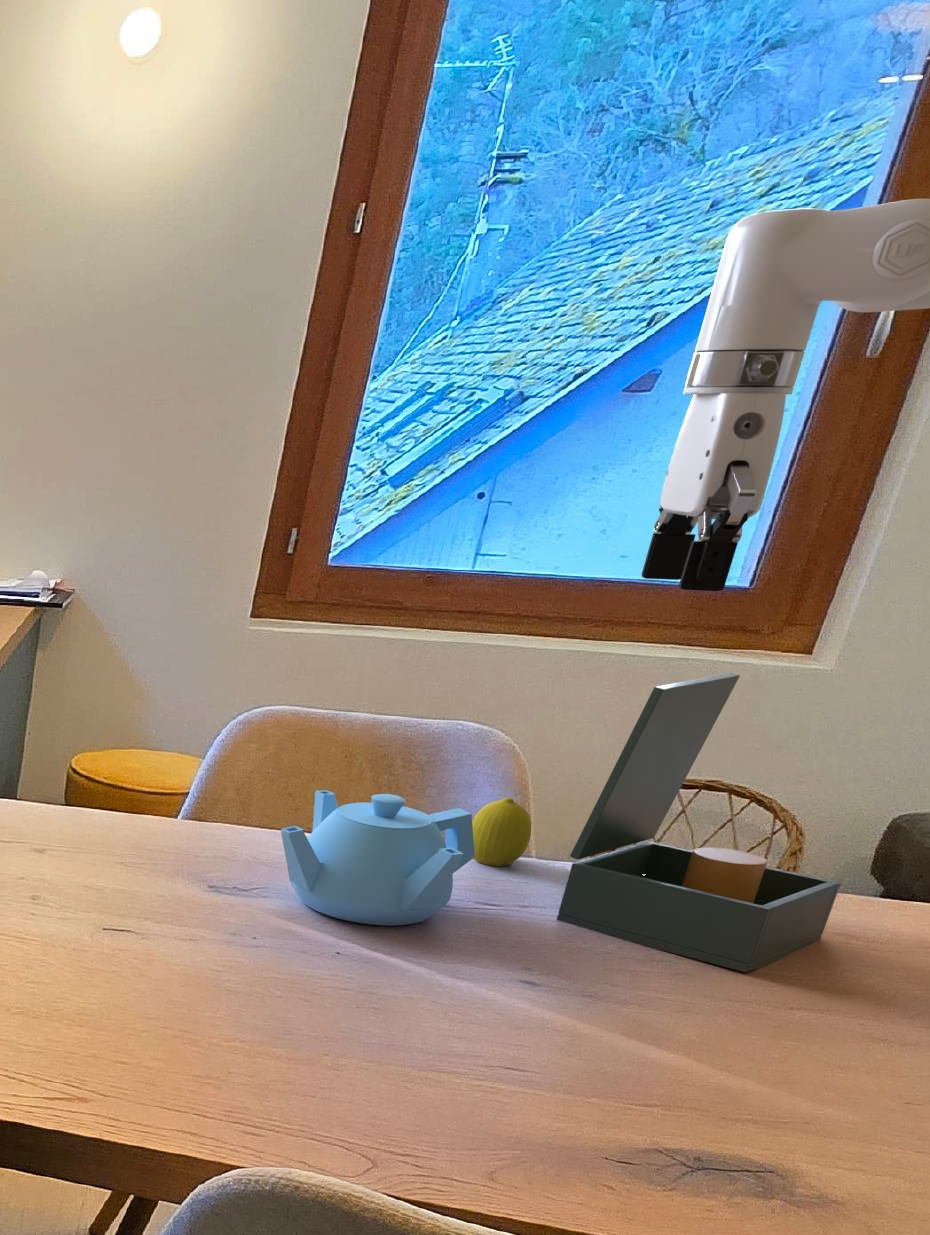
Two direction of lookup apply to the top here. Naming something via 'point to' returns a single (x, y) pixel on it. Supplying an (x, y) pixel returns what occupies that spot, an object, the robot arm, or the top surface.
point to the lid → (654, 763)
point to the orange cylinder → (725, 873)
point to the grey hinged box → (694, 908)
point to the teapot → (377, 859)
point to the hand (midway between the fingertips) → (680, 584)
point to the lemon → (501, 832)
